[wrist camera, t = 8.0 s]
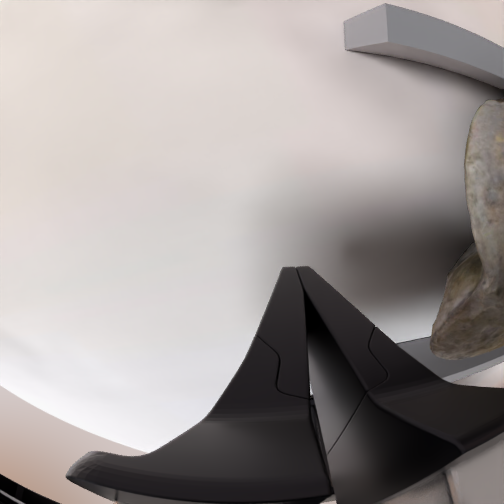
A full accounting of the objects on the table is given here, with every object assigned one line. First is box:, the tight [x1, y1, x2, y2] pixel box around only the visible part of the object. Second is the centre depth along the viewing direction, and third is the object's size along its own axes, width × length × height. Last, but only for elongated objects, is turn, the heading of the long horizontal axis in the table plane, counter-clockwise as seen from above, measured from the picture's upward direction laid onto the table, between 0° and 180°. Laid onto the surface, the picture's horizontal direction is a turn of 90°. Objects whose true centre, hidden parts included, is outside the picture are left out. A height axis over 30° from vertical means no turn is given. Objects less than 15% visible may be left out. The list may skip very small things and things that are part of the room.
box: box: [344, 3, 504, 383], centre depth 10 cm, size 16×15×3 cm
